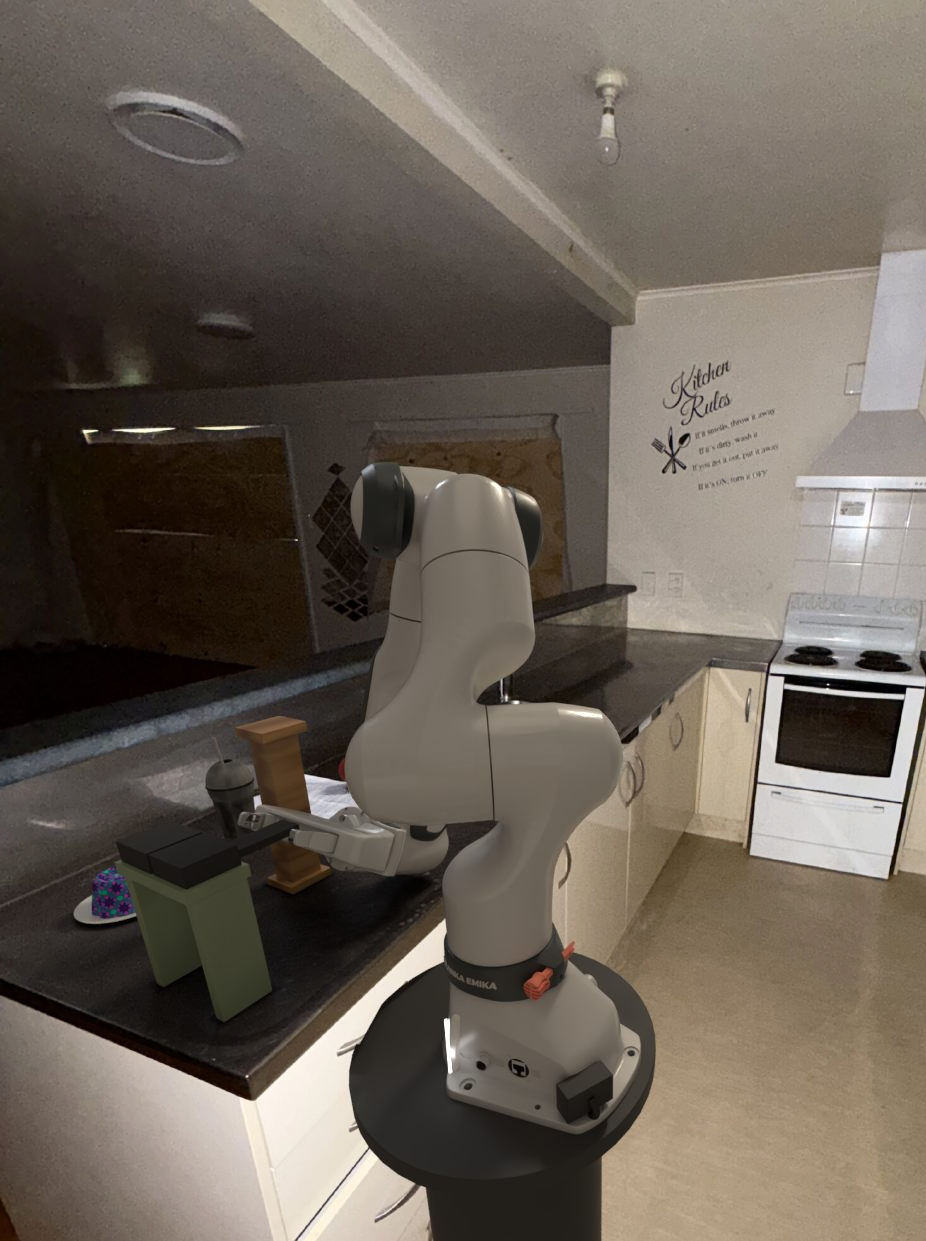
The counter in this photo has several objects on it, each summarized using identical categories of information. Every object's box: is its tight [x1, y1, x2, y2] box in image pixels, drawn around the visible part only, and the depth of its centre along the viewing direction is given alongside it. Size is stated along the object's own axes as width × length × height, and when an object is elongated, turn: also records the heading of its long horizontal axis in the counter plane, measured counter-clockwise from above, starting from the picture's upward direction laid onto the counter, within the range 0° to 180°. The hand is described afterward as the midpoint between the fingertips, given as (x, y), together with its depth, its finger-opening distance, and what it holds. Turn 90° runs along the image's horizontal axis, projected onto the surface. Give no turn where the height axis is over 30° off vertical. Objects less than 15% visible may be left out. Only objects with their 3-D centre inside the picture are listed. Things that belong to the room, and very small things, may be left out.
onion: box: [338, 757, 346, 783], centre depth 134 cm, size 6×6×8 cm
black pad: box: [149, 819, 300, 890], centre depth 72 cm, size 6×14×2 cm, turn 151°
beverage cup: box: [204, 736, 256, 842], centre depth 107 cm, size 7×7×20 cm
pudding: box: [72, 866, 137, 925], centre depth 92 cm, size 12×12×5 cm
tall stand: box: [234, 715, 333, 895], centre depth 95 cm, size 6×7×26 cm
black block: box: [115, 820, 203, 874], centre depth 71 cm, size 6×6×2 cm
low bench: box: [114, 859, 273, 1023], centre depth 73 cm, size 14×7×17 cm, turn 61°
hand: (266, 827), depth 75 cm, fingers open, 8 cm apart
